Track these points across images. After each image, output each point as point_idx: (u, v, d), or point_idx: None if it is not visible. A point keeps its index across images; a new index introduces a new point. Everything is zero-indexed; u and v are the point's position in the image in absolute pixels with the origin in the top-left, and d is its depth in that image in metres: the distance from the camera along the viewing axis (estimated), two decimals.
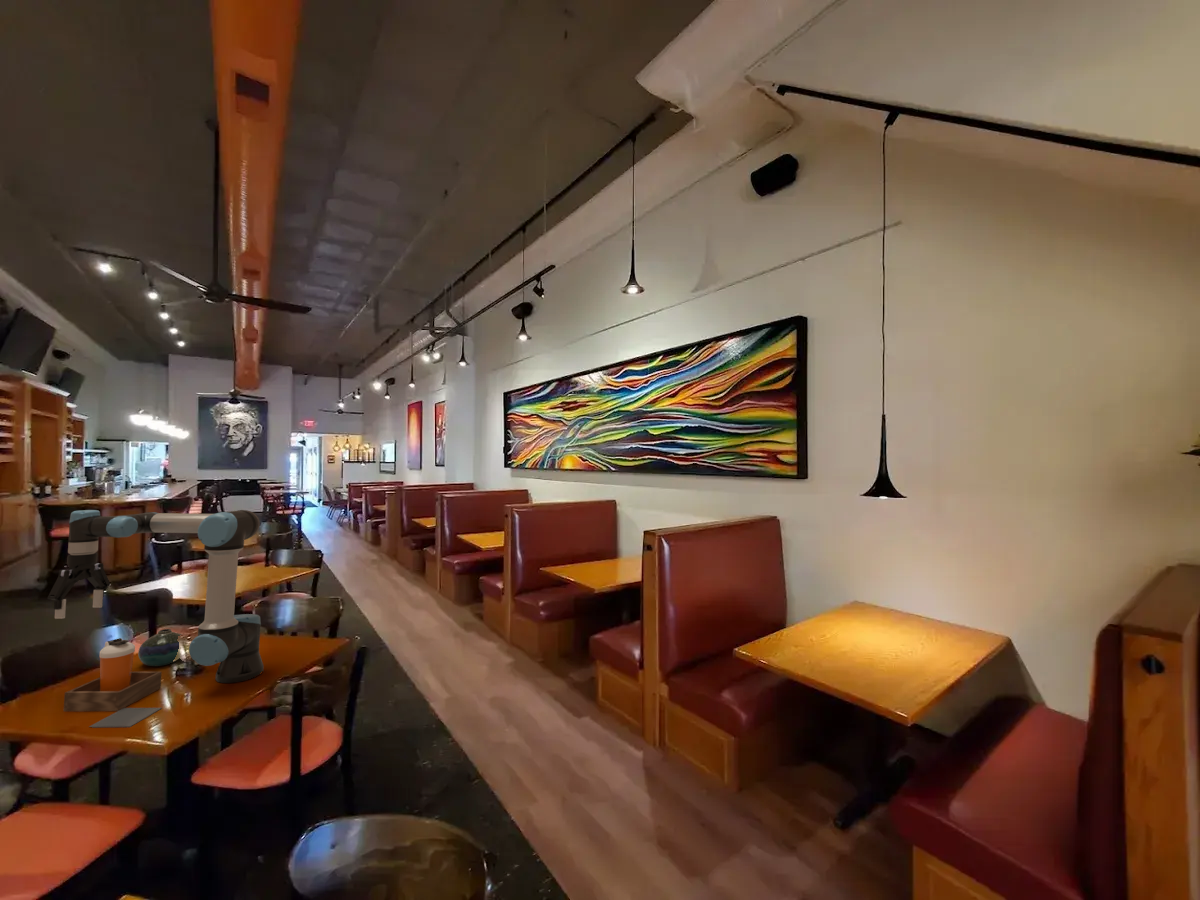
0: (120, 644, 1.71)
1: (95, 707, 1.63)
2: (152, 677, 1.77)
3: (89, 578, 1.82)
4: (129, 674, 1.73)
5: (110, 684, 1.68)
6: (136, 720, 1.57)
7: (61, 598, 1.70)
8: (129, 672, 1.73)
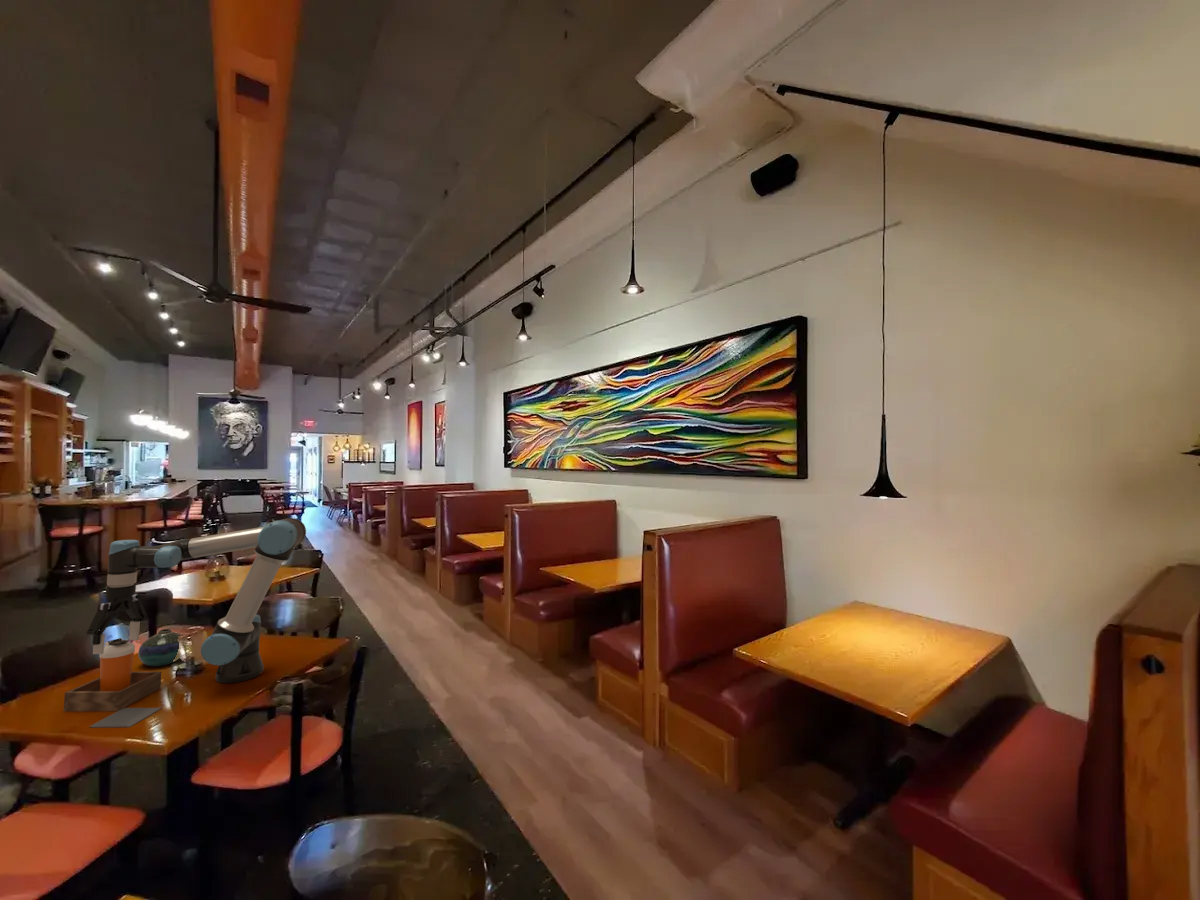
0: (120, 644, 1.71)
1: (95, 707, 1.63)
2: (152, 677, 1.77)
3: (127, 610, 1.76)
4: (129, 674, 1.73)
5: (110, 684, 1.68)
6: (136, 720, 1.57)
7: (100, 633, 1.65)
8: (129, 672, 1.73)
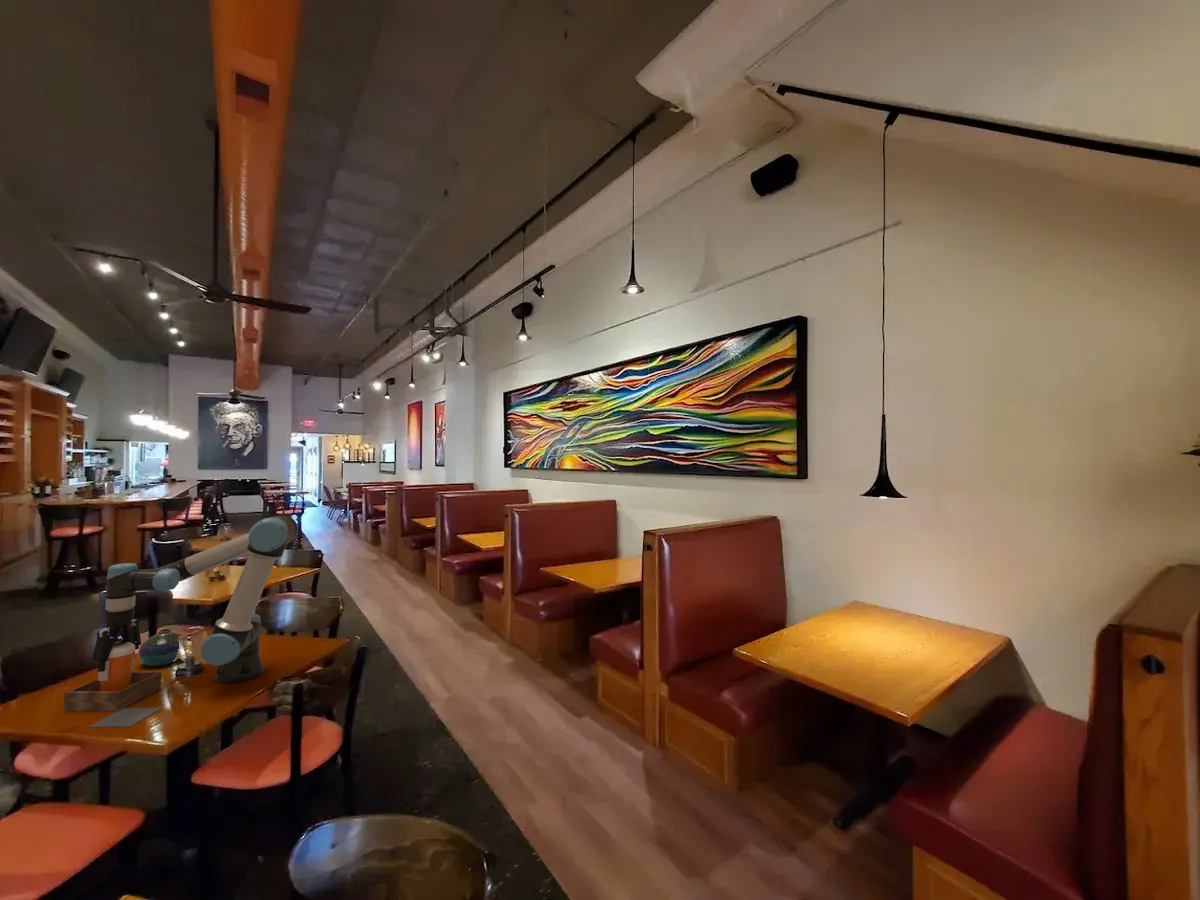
0: (120, 644, 1.71)
1: (95, 707, 1.63)
2: (152, 677, 1.77)
3: (123, 636, 1.75)
4: (129, 674, 1.73)
5: (110, 684, 1.68)
6: (136, 720, 1.57)
7: (105, 660, 1.66)
8: (129, 672, 1.73)
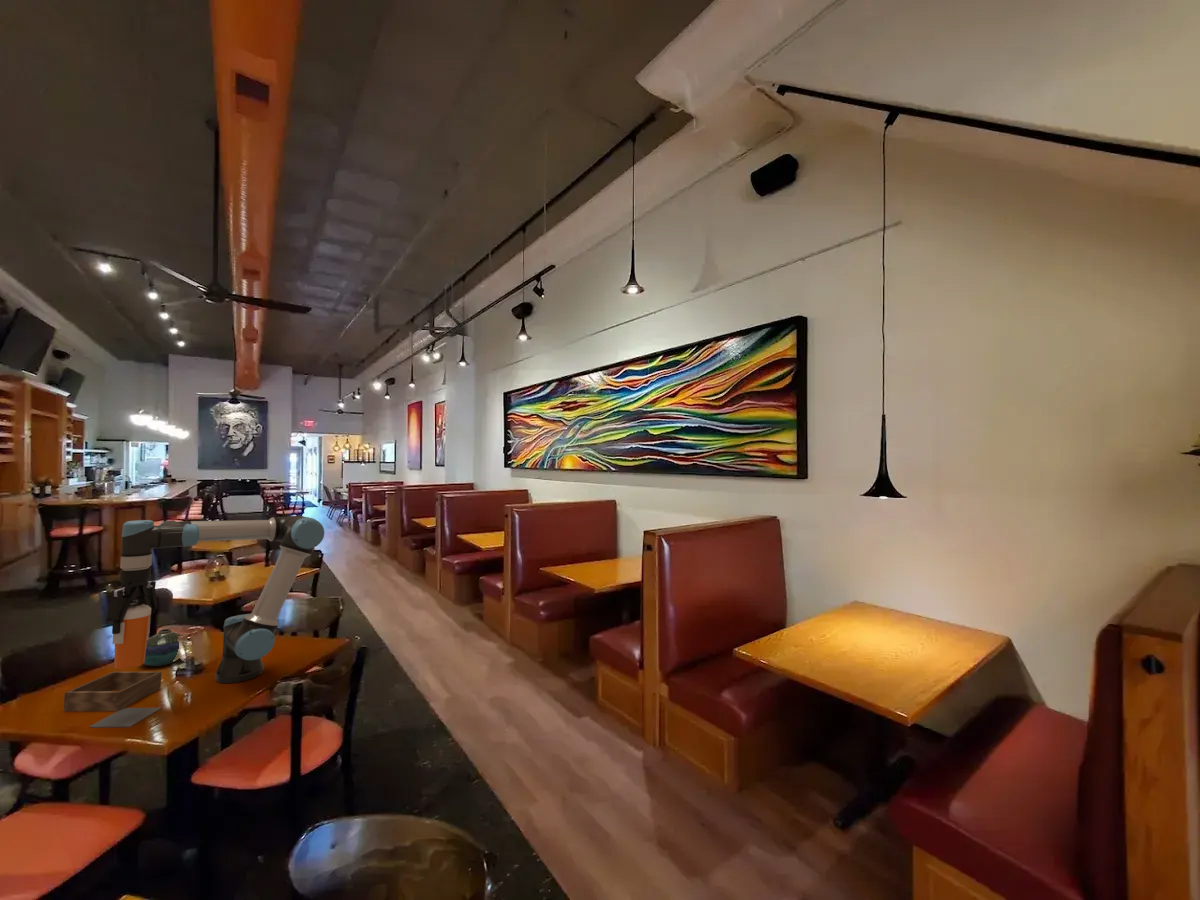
0: (136, 605, 1.59)
1: (95, 707, 1.63)
2: (152, 677, 1.77)
3: (139, 597, 1.64)
4: (145, 638, 1.62)
5: (125, 647, 1.57)
6: (136, 720, 1.57)
7: (120, 621, 1.55)
8: (145, 636, 1.61)
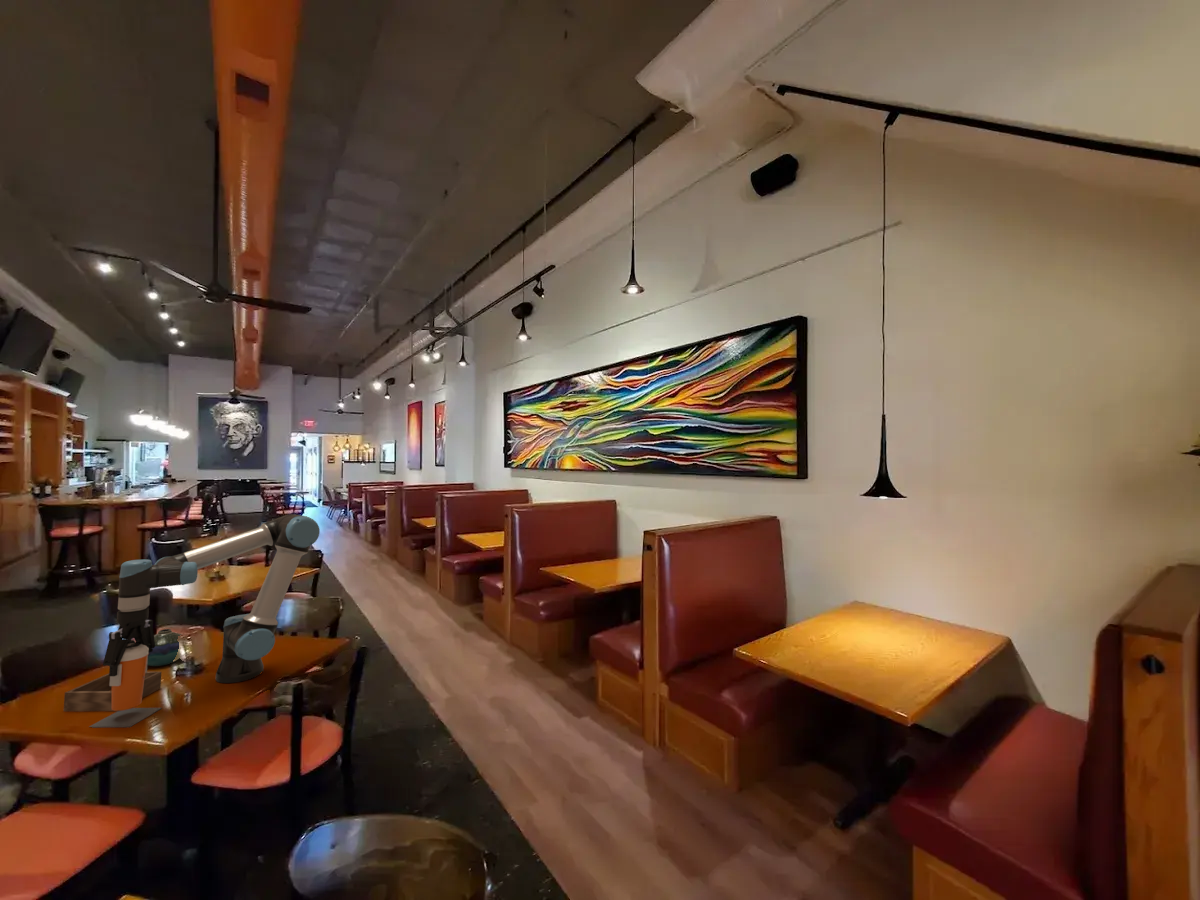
0: (133, 646, 1.59)
1: (95, 707, 1.63)
2: (152, 677, 1.77)
3: (137, 637, 1.63)
4: (142, 679, 1.61)
5: (123, 689, 1.56)
6: (136, 720, 1.57)
7: (117, 664, 1.54)
8: (142, 676, 1.61)
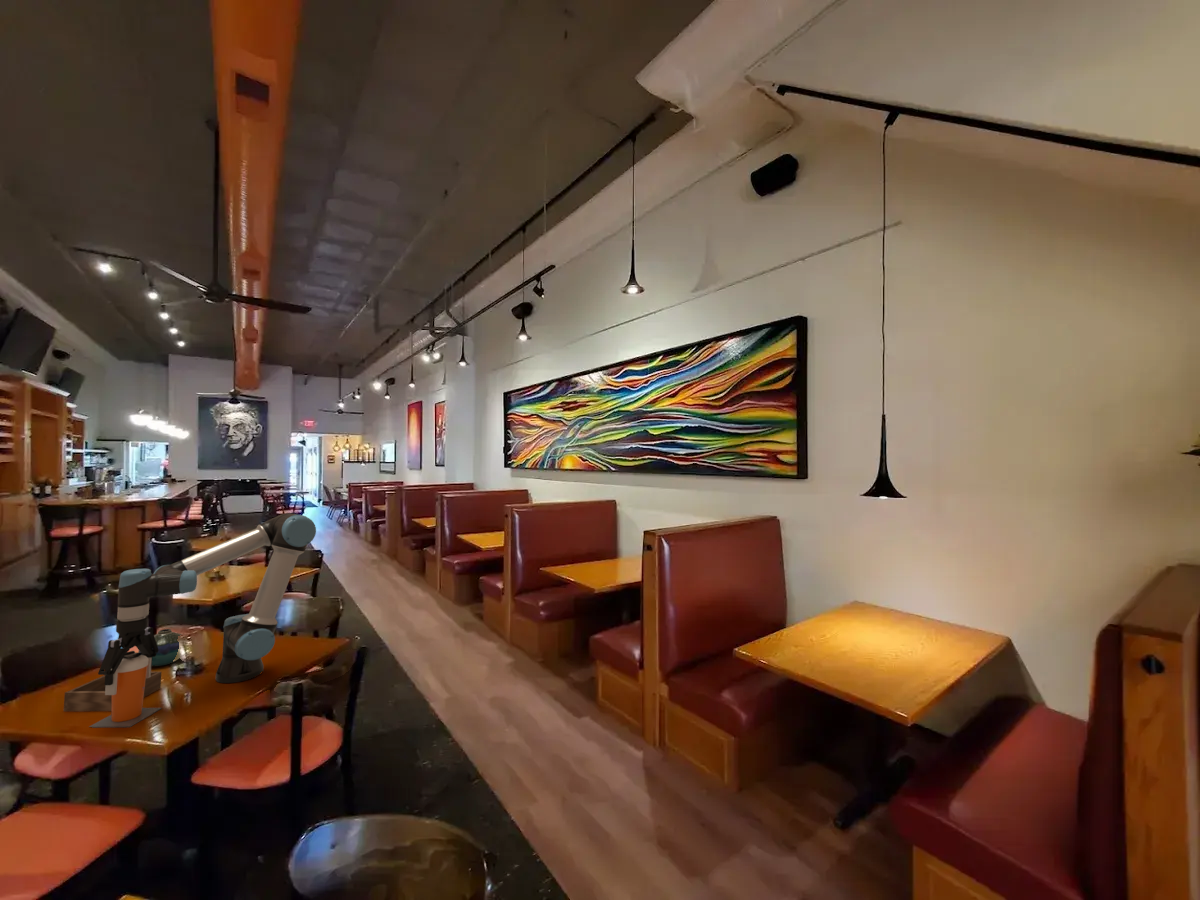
0: (133, 657, 1.59)
1: (95, 707, 1.63)
2: (152, 677, 1.77)
3: (138, 645, 1.63)
4: (142, 689, 1.61)
5: (123, 700, 1.56)
6: (136, 720, 1.57)
7: (113, 672, 1.53)
8: (142, 687, 1.61)
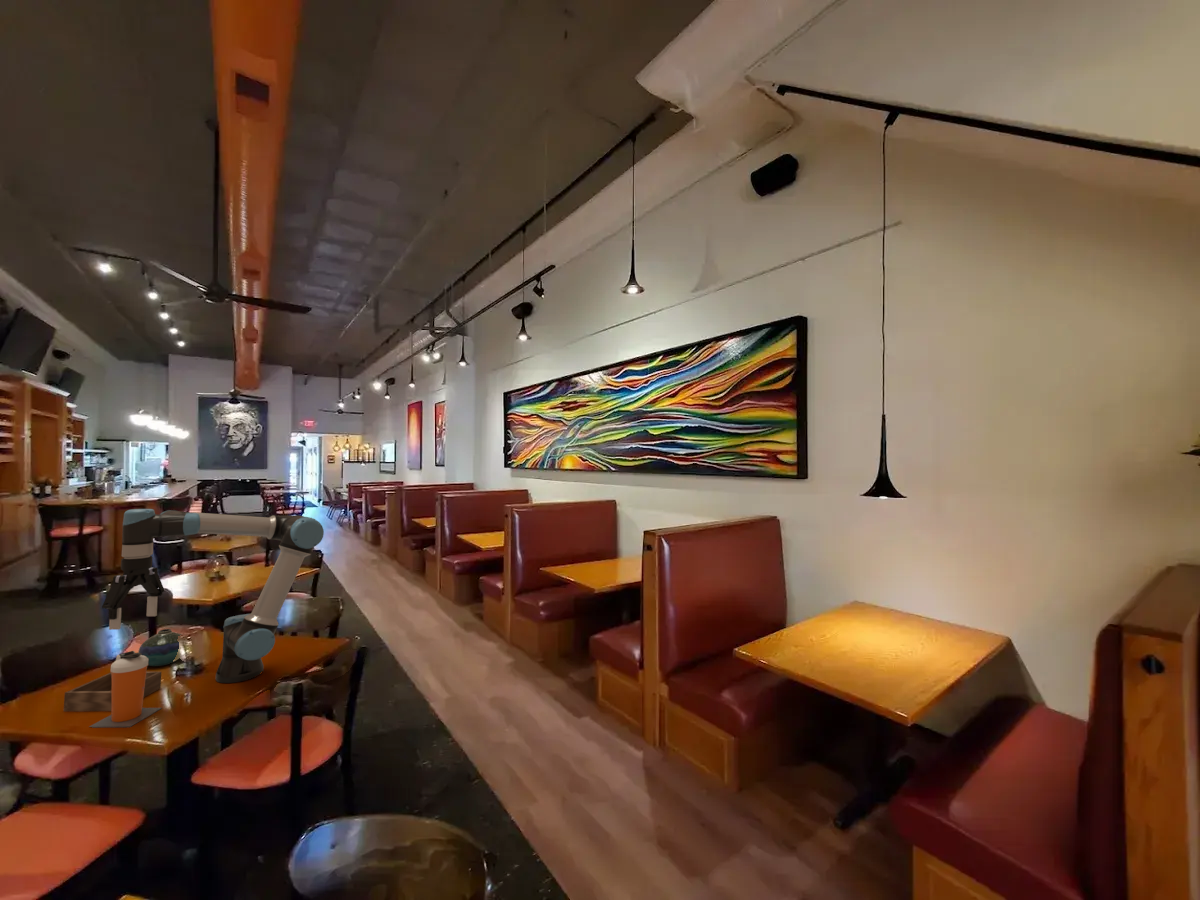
0: (133, 657, 1.59)
1: (95, 707, 1.63)
2: (152, 677, 1.77)
3: (143, 584, 1.65)
4: (142, 689, 1.61)
5: (122, 700, 1.56)
6: (136, 720, 1.57)
7: (116, 607, 1.53)
8: (142, 687, 1.61)
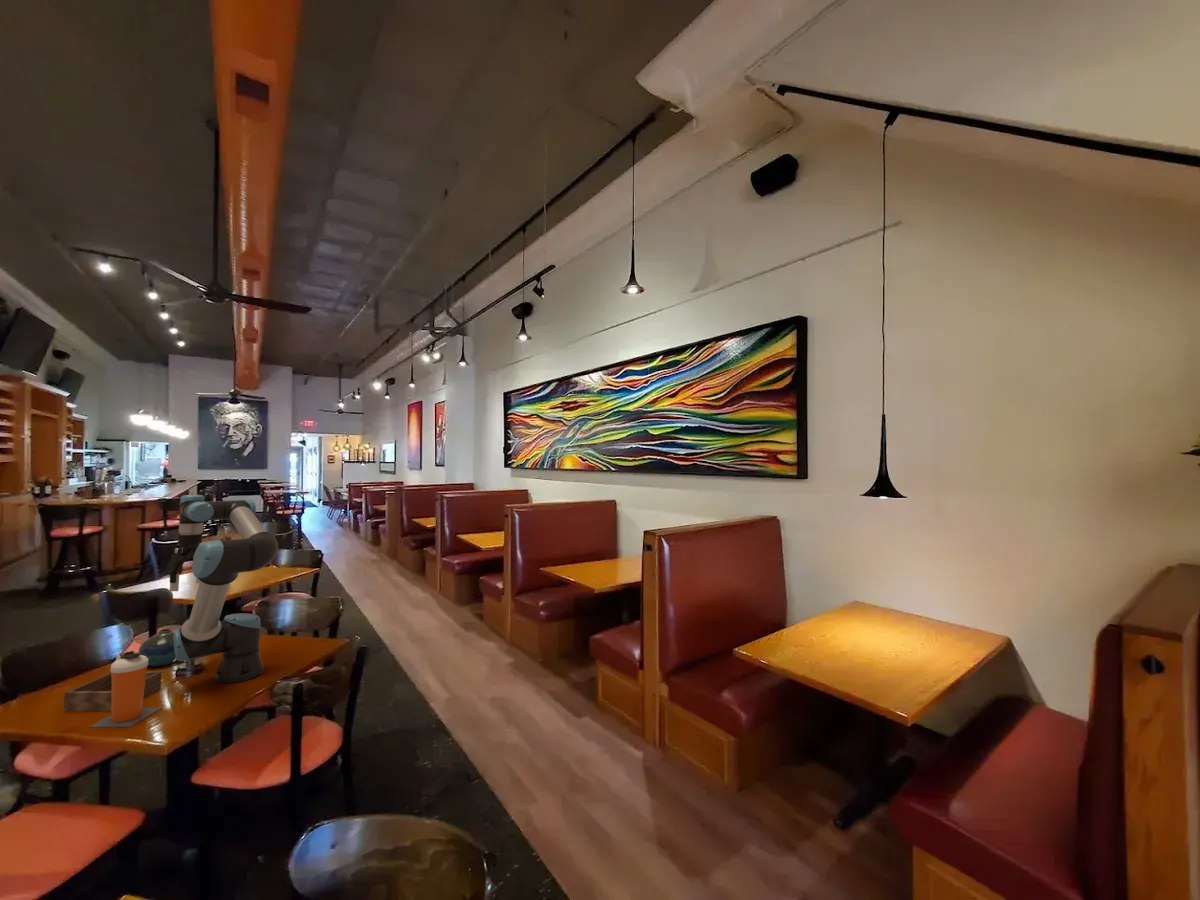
0: (133, 657, 1.59)
1: (95, 707, 1.63)
2: (152, 677, 1.77)
3: None
4: (142, 689, 1.61)
5: (122, 700, 1.56)
6: (136, 720, 1.57)
7: (176, 573, 1.91)
8: (142, 687, 1.61)
